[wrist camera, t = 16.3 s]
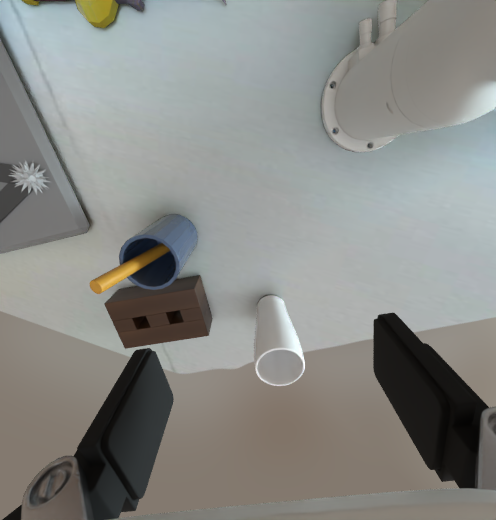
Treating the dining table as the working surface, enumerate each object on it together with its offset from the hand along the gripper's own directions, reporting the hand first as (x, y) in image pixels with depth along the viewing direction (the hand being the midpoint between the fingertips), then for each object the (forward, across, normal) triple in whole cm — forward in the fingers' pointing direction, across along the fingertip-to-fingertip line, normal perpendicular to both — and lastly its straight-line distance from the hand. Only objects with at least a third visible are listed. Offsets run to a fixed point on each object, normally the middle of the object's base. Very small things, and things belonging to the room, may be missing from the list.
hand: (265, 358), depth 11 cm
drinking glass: (+32, 0, +18) cm, 37 cm away
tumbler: (+32, +14, +2) cm, 35 cm away
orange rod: (+31, +12, +2) cm, 34 cm away
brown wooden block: (+32, +19, +14) cm, 40 cm away
